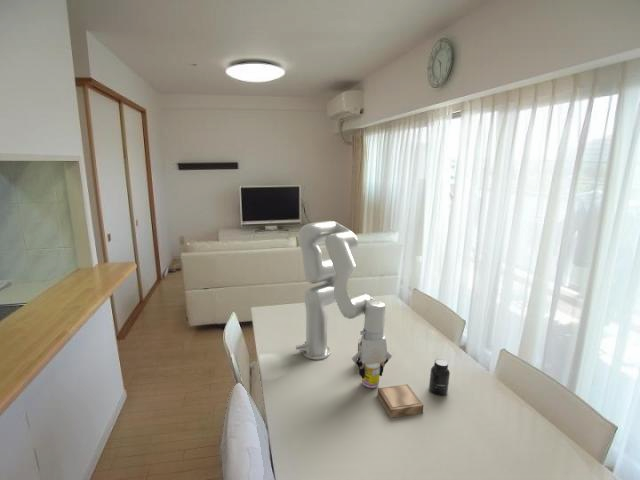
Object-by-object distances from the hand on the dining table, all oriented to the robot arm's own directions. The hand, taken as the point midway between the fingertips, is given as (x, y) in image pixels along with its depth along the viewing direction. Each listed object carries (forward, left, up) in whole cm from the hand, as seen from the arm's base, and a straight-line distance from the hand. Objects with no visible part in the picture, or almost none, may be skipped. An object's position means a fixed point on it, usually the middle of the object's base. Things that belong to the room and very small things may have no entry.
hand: (370, 374), depth 135 cm
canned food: (+3, +13, -5) cm, 15 cm away
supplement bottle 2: (+24, -9, -5) cm, 26 cm away
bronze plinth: (+6, -13, -4) cm, 15 cm away
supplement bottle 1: (0, 0, -4) cm, 4 cm away
